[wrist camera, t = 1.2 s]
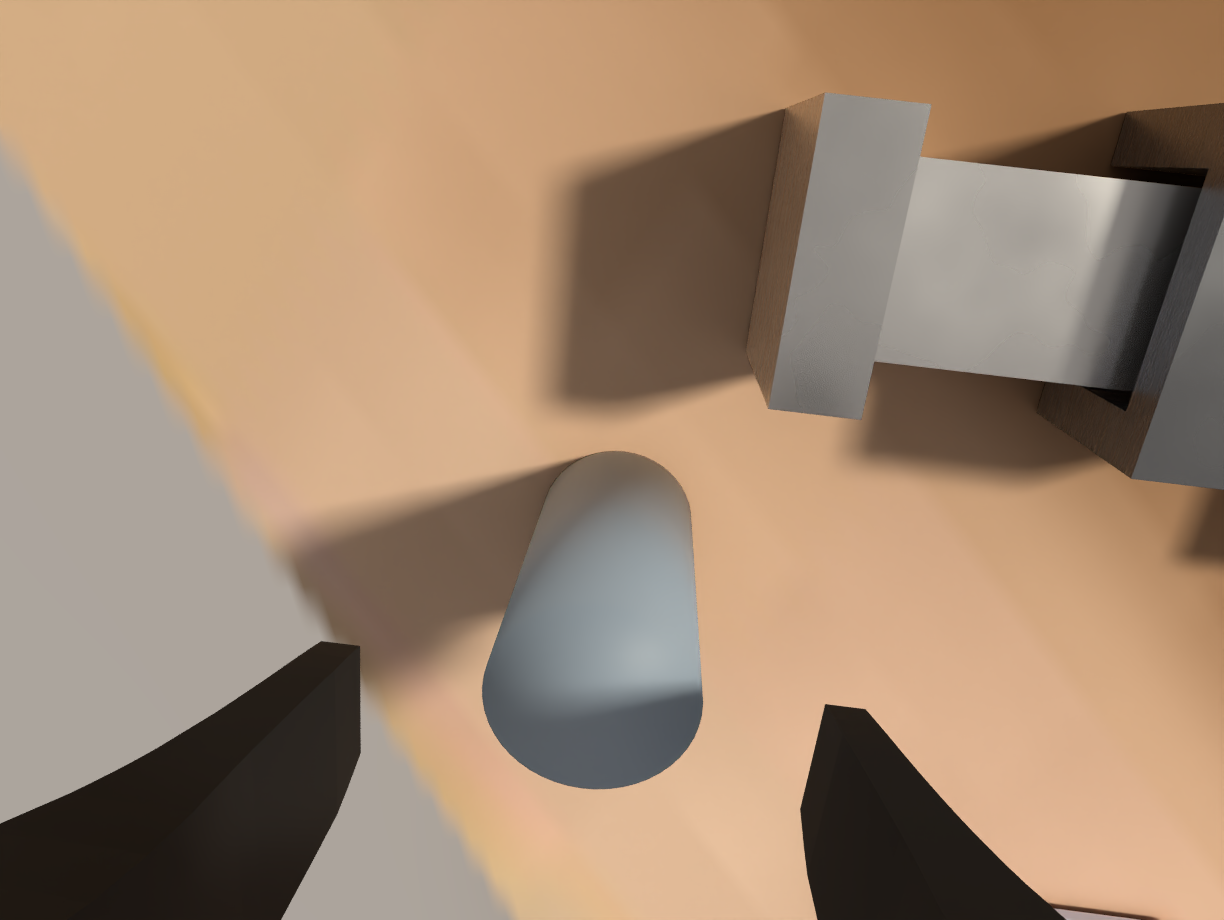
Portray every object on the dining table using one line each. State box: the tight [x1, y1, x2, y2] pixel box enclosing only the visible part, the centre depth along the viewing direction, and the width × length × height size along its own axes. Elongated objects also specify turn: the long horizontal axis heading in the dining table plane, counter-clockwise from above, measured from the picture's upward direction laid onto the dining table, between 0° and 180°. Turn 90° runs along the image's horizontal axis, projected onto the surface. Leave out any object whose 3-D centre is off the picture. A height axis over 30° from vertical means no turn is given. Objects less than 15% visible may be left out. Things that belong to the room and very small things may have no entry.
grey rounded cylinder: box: [482, 451, 703, 789], centre depth 17 cm, size 4×4×7 cm
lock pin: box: [746, 93, 1202, 420], centre depth 15 cm, size 5×12×4 cm, turn 84°
